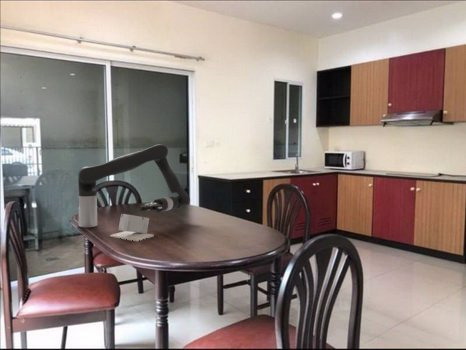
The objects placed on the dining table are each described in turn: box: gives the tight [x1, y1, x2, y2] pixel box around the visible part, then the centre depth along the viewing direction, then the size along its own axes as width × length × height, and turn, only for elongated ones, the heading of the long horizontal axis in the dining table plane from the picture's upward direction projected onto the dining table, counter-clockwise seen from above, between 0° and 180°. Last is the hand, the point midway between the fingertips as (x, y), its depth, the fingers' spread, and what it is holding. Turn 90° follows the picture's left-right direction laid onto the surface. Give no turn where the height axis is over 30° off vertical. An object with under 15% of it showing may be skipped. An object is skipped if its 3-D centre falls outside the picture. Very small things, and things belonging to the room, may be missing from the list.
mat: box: [109, 231, 155, 242], centre depth 189 cm, size 18×12×1 cm, turn 61°
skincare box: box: [117, 213, 150, 234], centre depth 190 cm, size 8×6×15 cm
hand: (141, 208), depth 194 cm, fingers closed
